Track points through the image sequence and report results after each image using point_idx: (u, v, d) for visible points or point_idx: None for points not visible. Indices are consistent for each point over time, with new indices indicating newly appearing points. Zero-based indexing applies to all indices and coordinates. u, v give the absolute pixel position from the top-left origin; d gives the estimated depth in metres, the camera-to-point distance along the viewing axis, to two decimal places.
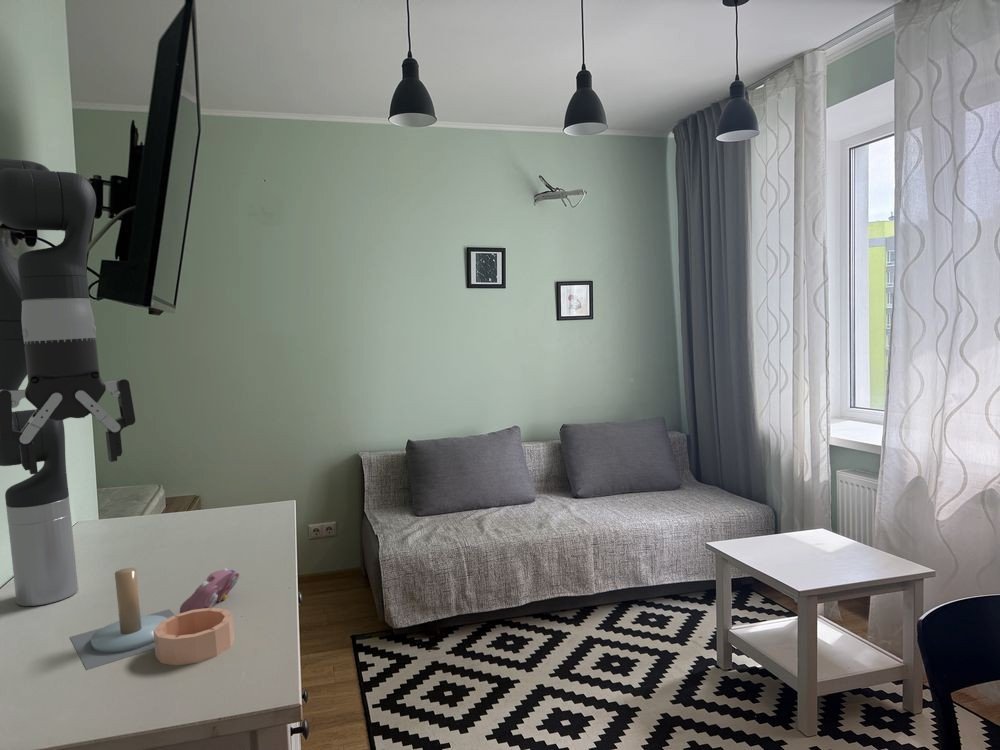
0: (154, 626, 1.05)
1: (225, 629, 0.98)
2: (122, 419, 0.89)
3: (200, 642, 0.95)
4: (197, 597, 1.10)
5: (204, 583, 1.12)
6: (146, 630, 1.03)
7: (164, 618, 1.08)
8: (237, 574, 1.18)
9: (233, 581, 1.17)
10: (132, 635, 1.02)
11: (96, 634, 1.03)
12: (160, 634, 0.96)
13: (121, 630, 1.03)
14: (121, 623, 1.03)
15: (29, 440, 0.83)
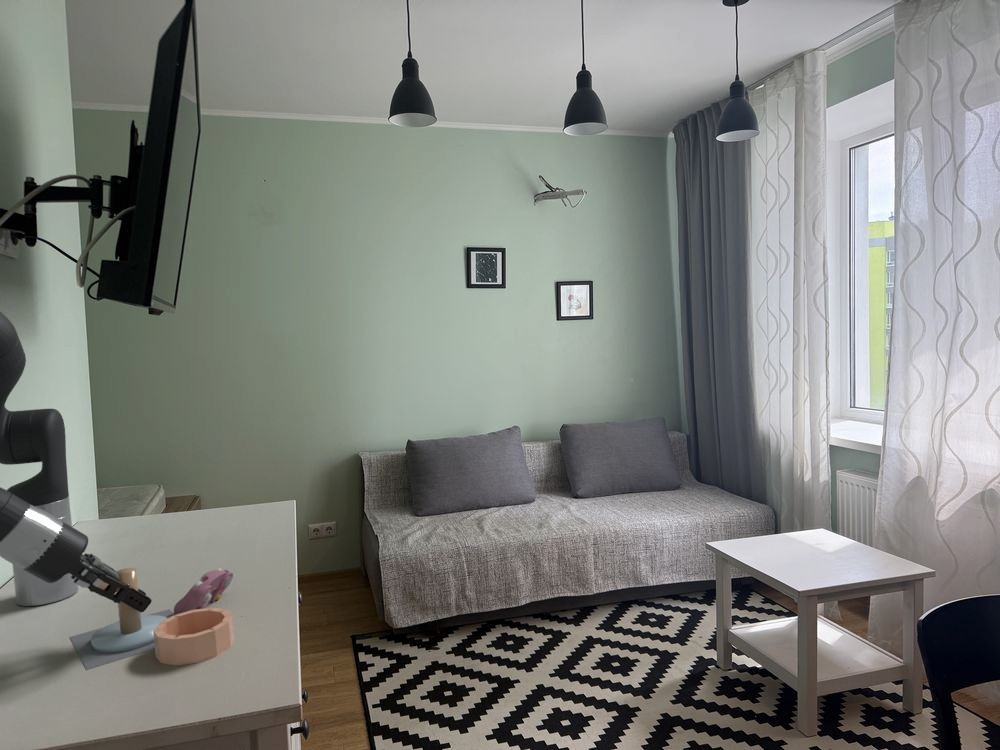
0: (154, 626, 1.05)
1: (225, 629, 0.98)
2: None
3: (200, 642, 0.95)
4: (190, 597, 1.10)
5: (198, 583, 1.12)
6: (146, 630, 1.03)
7: (164, 618, 1.08)
8: (231, 574, 1.18)
9: (227, 581, 1.17)
10: (132, 635, 1.02)
11: (96, 634, 1.03)
12: (160, 634, 0.96)
13: (121, 630, 1.03)
14: (121, 623, 1.03)
15: None
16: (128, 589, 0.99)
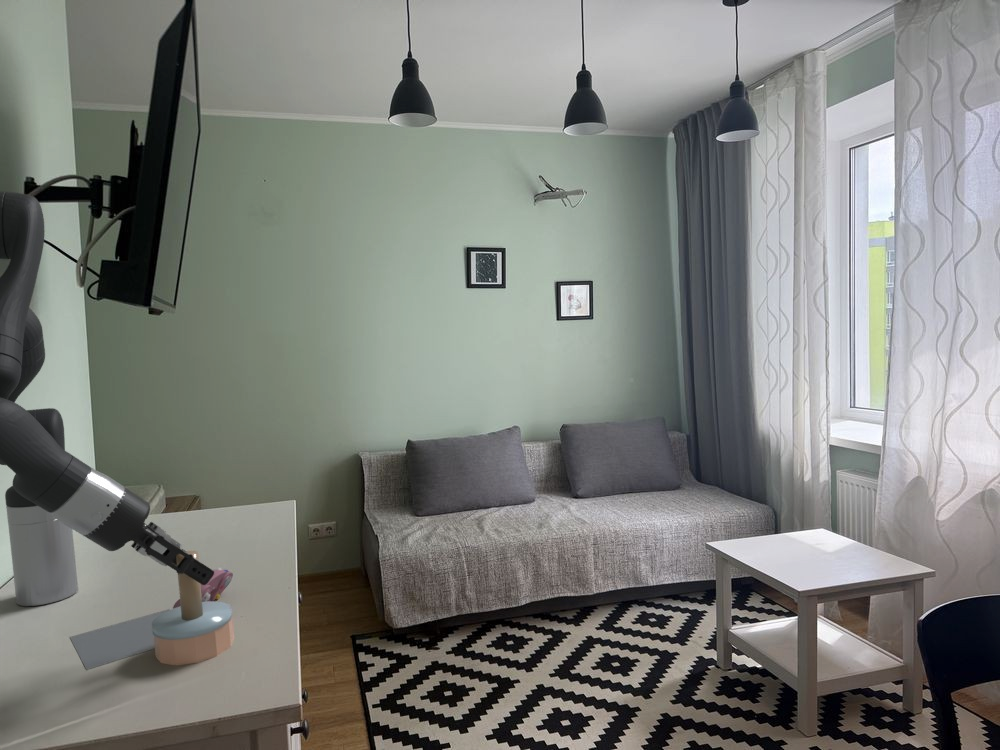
0: (216, 612, 1.00)
1: (225, 629, 0.98)
2: (178, 566, 0.92)
3: (200, 642, 0.95)
4: None
5: None
6: (208, 616, 0.98)
7: (225, 604, 1.03)
8: (231, 574, 1.18)
9: (227, 581, 1.18)
10: (195, 621, 0.97)
11: (156, 620, 0.98)
12: None
13: (183, 616, 0.98)
14: (183, 608, 0.97)
15: None
16: (190, 558, 0.92)
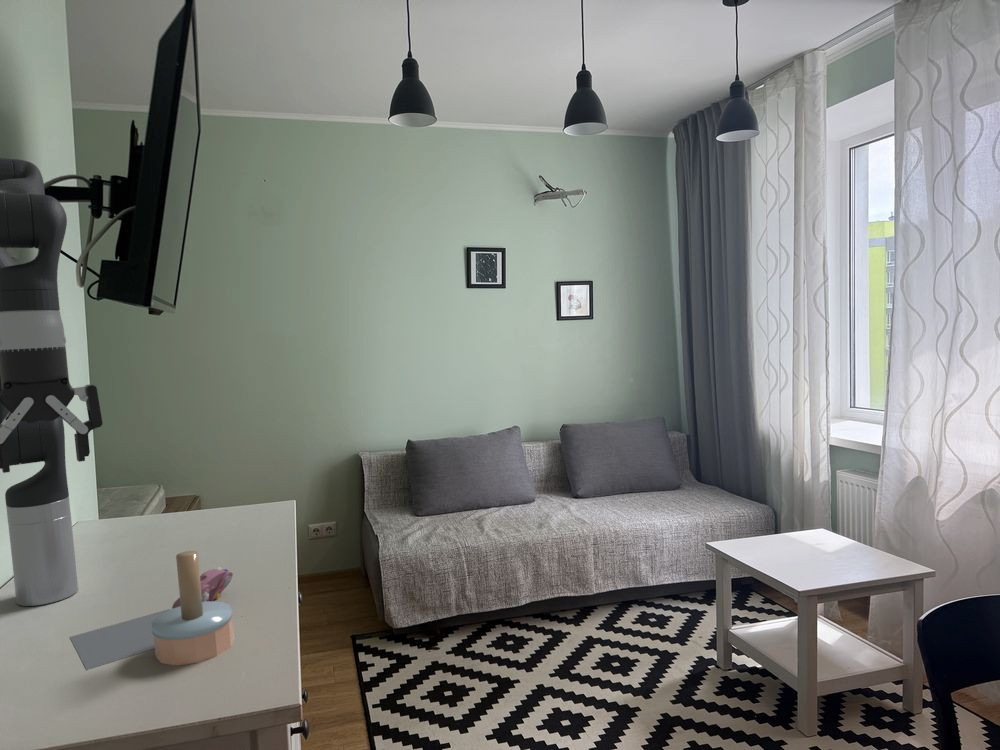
0: (216, 612, 1.00)
1: (225, 629, 0.98)
2: (90, 422, 0.97)
3: (200, 642, 0.95)
4: None
5: None
6: (208, 616, 0.98)
7: (225, 604, 1.03)
8: (230, 573, 1.19)
9: (226, 580, 1.18)
10: (195, 621, 0.97)
11: (156, 620, 0.98)
12: None
13: (183, 616, 0.98)
14: (183, 608, 0.97)
15: (2, 441, 0.90)
16: None
